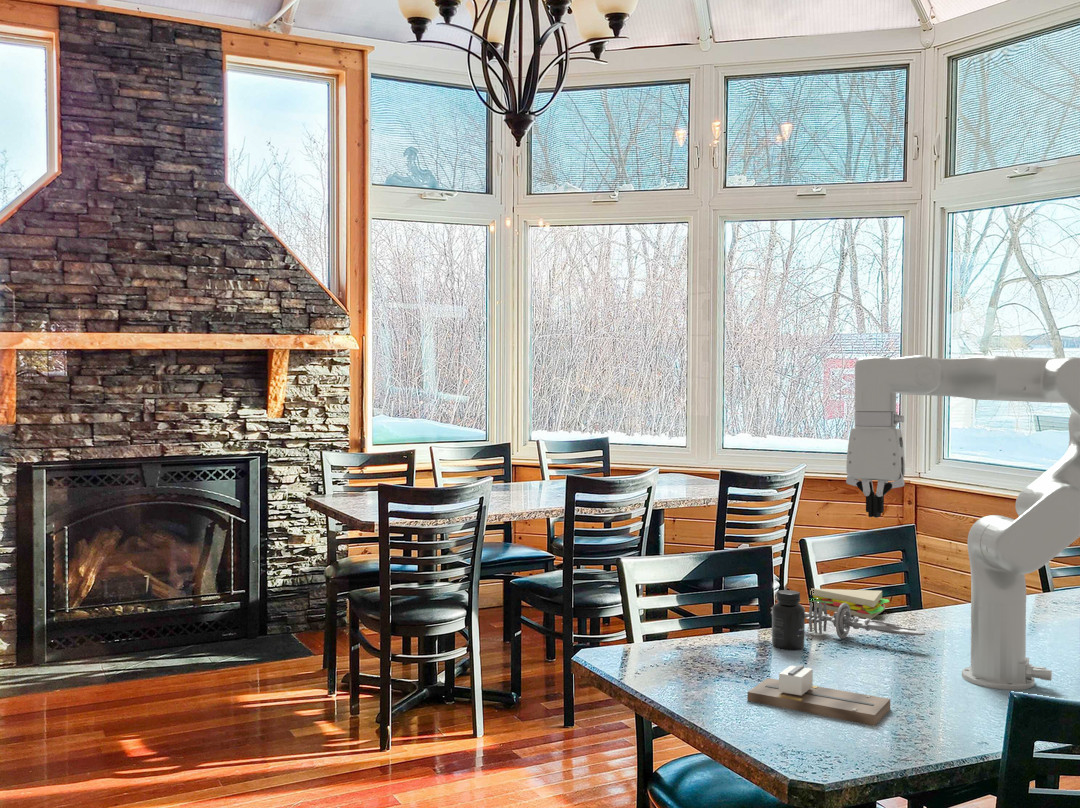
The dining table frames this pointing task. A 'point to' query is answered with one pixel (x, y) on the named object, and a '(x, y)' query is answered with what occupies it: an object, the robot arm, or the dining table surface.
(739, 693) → the dining table surface
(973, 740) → the dining table surface
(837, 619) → the spaceship
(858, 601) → the sandwich
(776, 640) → the supplement bottle
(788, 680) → the fader knob
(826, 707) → the fader track
